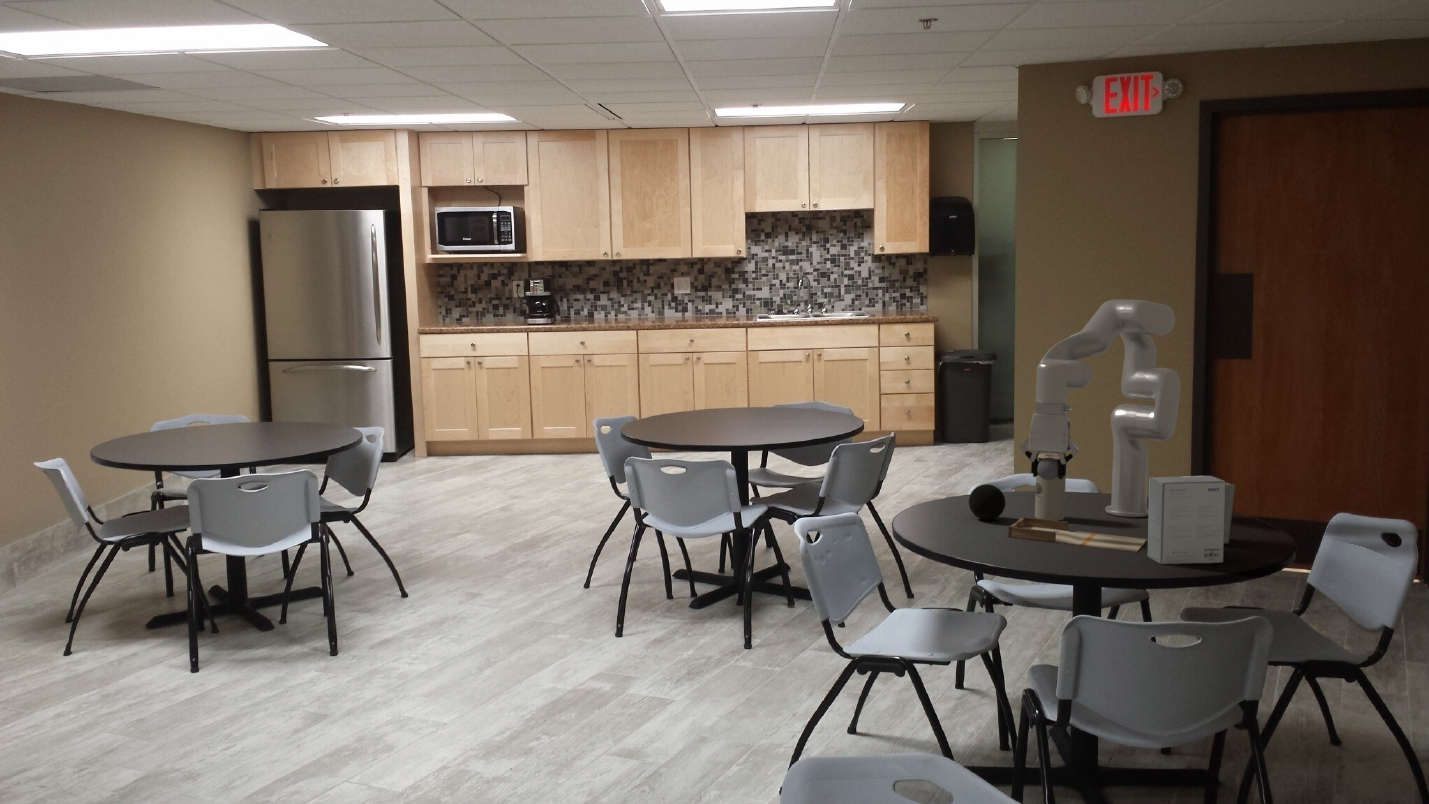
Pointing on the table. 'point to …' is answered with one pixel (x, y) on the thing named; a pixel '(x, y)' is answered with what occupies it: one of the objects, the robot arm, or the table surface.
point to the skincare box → (1228, 510)
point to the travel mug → (1050, 495)
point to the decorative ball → (987, 502)
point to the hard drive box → (1186, 519)
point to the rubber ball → (1048, 468)
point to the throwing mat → (1070, 535)
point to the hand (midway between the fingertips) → (1048, 476)
